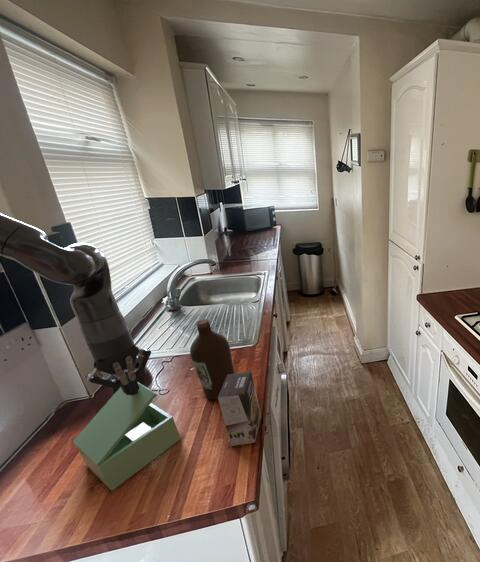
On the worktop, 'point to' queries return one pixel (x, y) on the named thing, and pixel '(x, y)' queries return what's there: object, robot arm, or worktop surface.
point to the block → (137, 432)
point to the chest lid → (112, 423)
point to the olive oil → (211, 359)
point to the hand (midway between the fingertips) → (132, 393)
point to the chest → (136, 448)
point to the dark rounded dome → (139, 379)
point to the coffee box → (240, 408)
